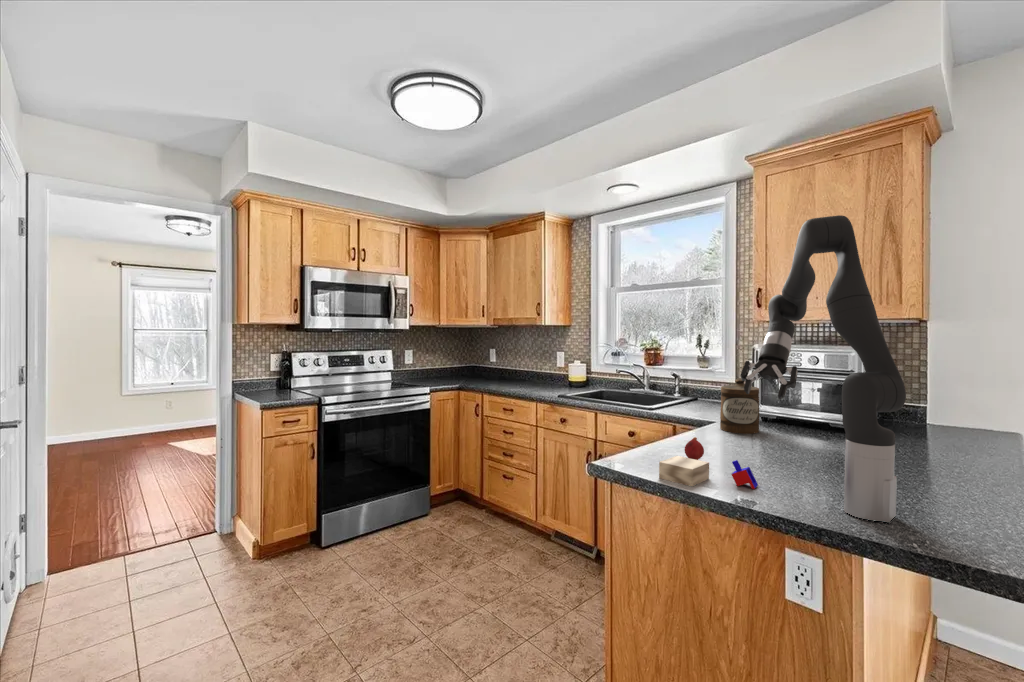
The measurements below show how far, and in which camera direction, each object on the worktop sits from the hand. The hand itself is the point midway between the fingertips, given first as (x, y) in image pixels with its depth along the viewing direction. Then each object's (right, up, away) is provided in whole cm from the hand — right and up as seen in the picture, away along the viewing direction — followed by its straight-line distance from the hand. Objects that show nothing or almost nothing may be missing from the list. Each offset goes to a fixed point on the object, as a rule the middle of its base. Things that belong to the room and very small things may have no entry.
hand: (763, 395), depth 139 cm
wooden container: (+24, -22, +66) cm, 73 cm away
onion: (-13, -24, +18) cm, 32 cm away
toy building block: (-8, -24, -5) cm, 26 cm away
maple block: (-22, -24, +1) cm, 33 cm away
